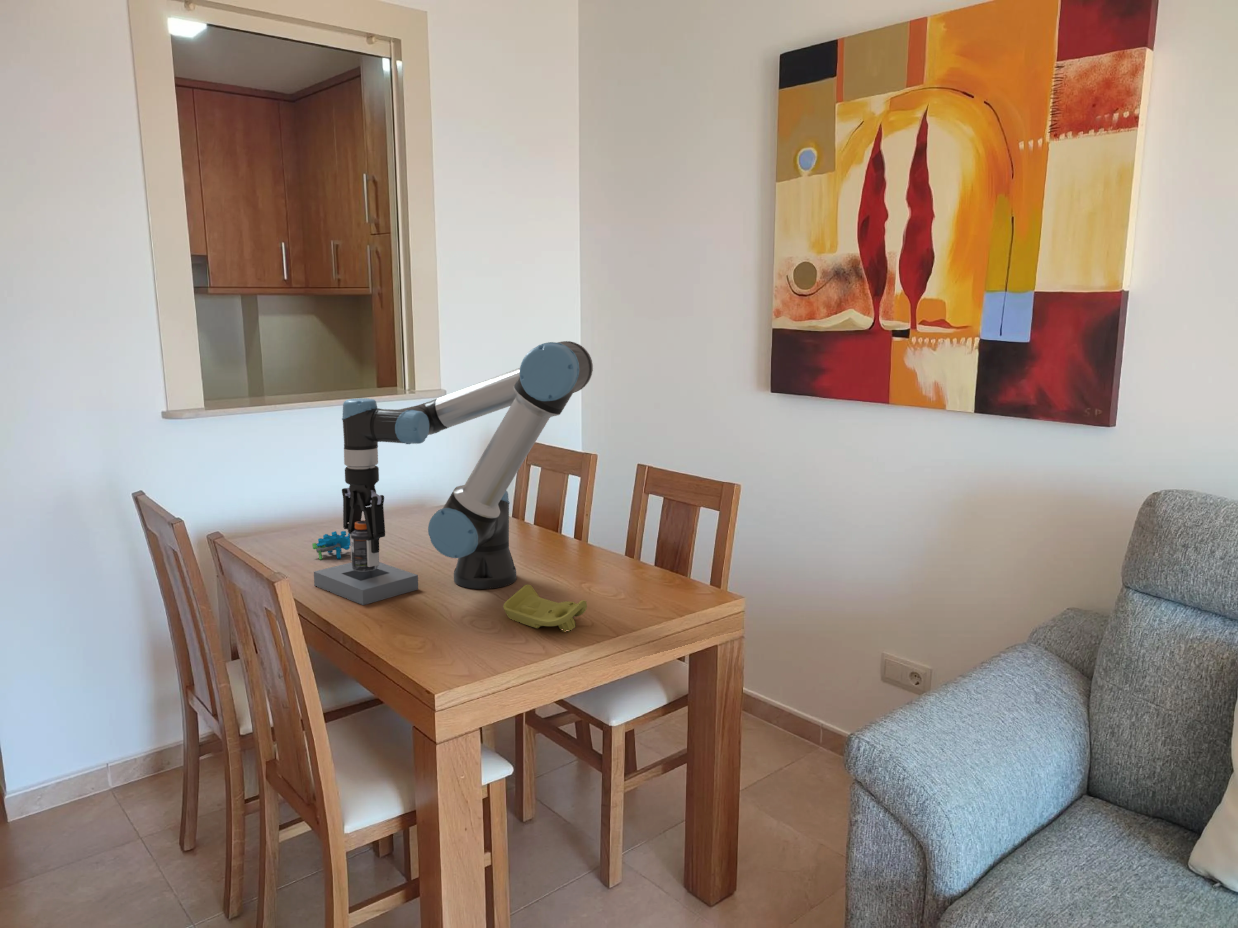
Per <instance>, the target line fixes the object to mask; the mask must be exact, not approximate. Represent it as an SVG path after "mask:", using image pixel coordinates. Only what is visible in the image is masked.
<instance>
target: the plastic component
mask: <svg viewBox="0 0 1238 928" xmlns="http://www.w3.org/2000/svg"><path fill="white" fill-rule="evenodd" d="M587 607H588V602H587V601H586V600H585V599H582V600H580V601H578V603H576V602H575V601H569V600H566V601H561V602H558V601H553V600H550V599H546V598H543V597H540V596H539V594H538V592H537V591H536V590H535V589H534V587H533V586H532V585H531V584H528V583H527V584H525V585H524V584H523V586H522V587H521V588H520V589H519V590H517V591H516V592H515V593H514V594H513V595H512V596H511V597H509V598H508V599H507V600H506V601H505V602H504V603H503V606H502V608H503V610H504V612H505V614H506V616H507V617H508V618H510V620H511V619H512V621H514V620H515V621H514V622H517V623H519V622H520V624H523V625H526V626H529V627H532V628H535V629H539V628H540V627H557V626H558V628H559V630H560V629H563V631H562V632H564V631H566V630H569V631H568V632H571V631H573V629H575V628H576V621H575V620H574V618H575V617H576V618H577V617H580V616H582V615H583V614H584V613H585V612H586V610H587ZM570 630H571V631H570Z"/></svg>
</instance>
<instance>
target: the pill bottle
mask: <svg viewBox="0 0 1238 928" xmlns="http://www.w3.org/2000/svg"><path fill="white" fill-rule="evenodd" d="M366 538H369V536H368V531H367V526H366V522H365V519H361V521H357V522H355V530H354V531H353V532H352V533H351V546H350V550H351V549H352V561H351V562H352V568H353V570H355V571H372V570H375V569H377V568H378V565H376V566H372V567H368V566H367V540H366Z"/></svg>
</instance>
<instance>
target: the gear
mask: <svg viewBox="0 0 1238 928" xmlns="http://www.w3.org/2000/svg"><path fill="white" fill-rule="evenodd" d="M317 540H318V541H317V542H318V543H317V542H313V543H312V544H311V545H312V549H313V550H315V551H316V553H317V554H318V558H319V560H320V561H322V560H323V555H322V554H323V553H328V554H332V553H333V551H335V553H336V559H337V560H340V559H342V554H341V552H342V549H343V550H346V551H348V550H349V549H351V545H350V533H348V532H346V530H342V531H340V534H338V532H337V531H336V530H335V531H332V532H331V535H329V534H328V533H325V534H323V535H322V538H321V537H320V538H318V539H317Z"/></svg>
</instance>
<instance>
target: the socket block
mask: <svg viewBox="0 0 1238 928" xmlns="http://www.w3.org/2000/svg"><path fill="white" fill-rule="evenodd" d="M313 579H314V580H313V581H314V584H313V585H314V587H316V586H317V587H316V588H319V589H322V590H324V591H326V590H327V591H326V592H329V591H330V593H331V594H334V595H337V596H339V597H342V598H344V599H346V598H347V600H349V601H352V602H353V603H357V604H359V605H362V606H366V605H369V604H372V603H376V602H379V601H383V600H386V599H389V598H392V597H393V598H394V597H396V596H400V595H403V594H406V593H410V592H413V591H417V590H419V575H418V574H415V573H413V572H411V571H407V570H404V569H401V568H398V567H395V566H392V565H389V564H386V563H385V562H384V563H383V562H381V561H379V565H378V568H377V569H375V570H372V571H355V570H353V568H352V561H351V562H347V563H343V564H340V565H334V566H332V567H327V568H323V569H319V570H314V571H313Z"/></svg>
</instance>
